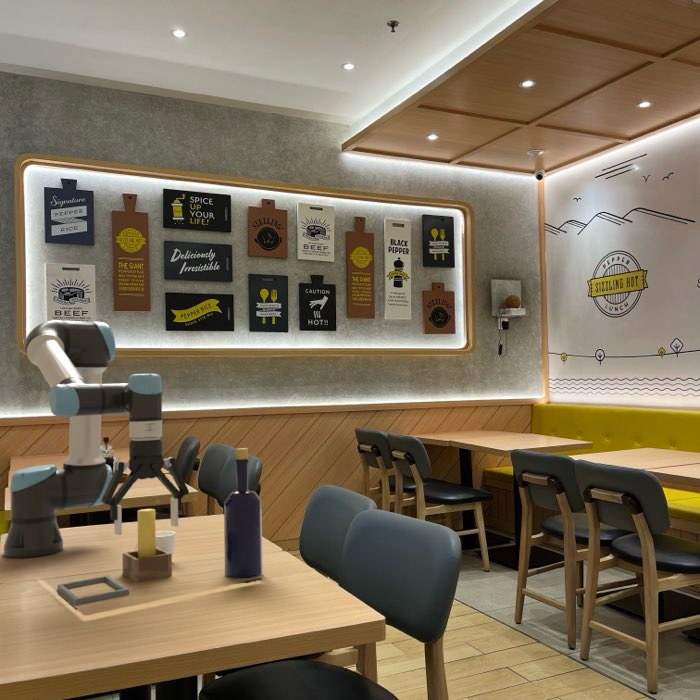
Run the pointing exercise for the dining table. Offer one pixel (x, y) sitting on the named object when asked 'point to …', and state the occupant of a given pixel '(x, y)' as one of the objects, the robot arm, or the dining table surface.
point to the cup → (165, 540)
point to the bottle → (243, 526)
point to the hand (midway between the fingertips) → (147, 529)
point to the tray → (64, 590)
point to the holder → (147, 565)
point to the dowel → (146, 533)
